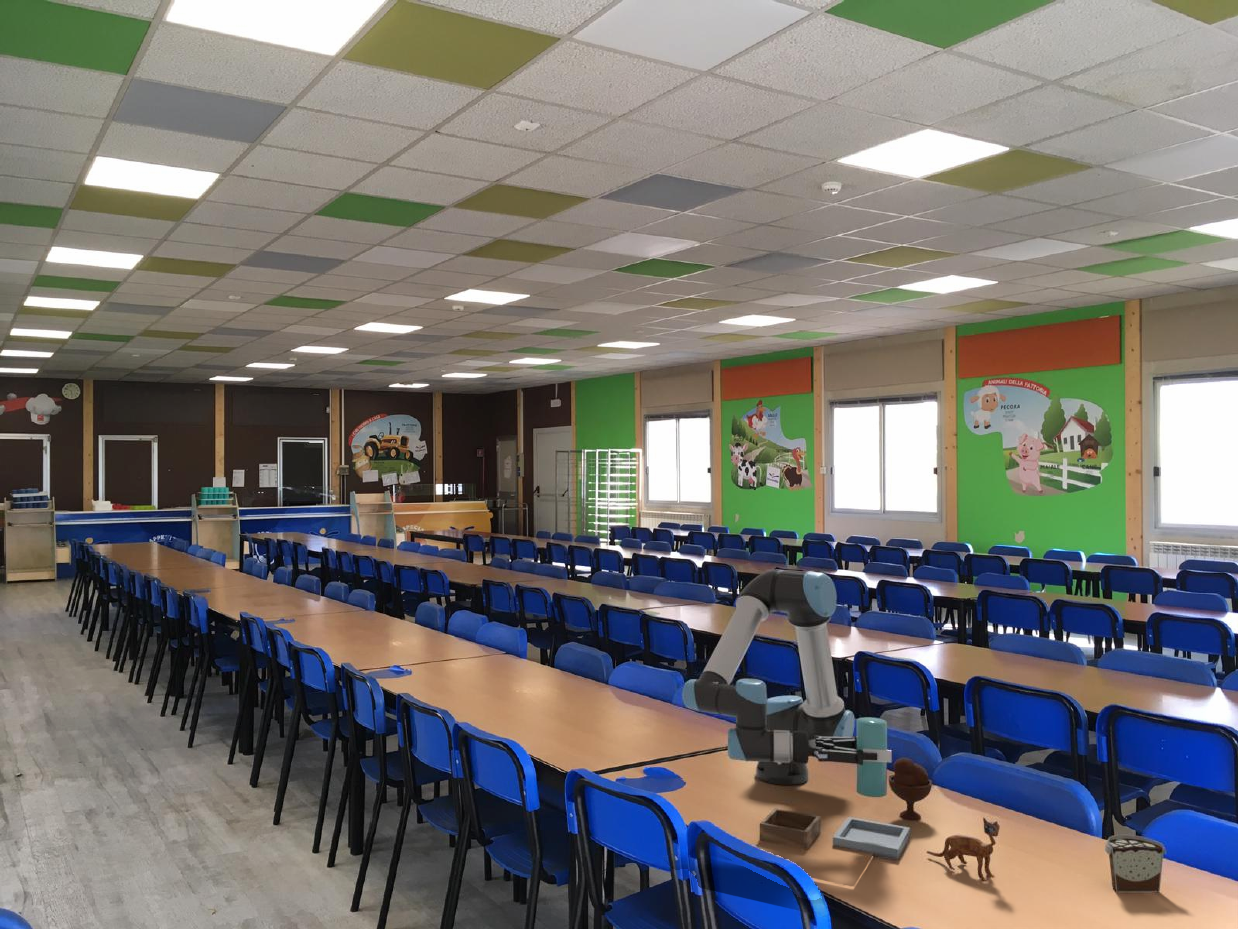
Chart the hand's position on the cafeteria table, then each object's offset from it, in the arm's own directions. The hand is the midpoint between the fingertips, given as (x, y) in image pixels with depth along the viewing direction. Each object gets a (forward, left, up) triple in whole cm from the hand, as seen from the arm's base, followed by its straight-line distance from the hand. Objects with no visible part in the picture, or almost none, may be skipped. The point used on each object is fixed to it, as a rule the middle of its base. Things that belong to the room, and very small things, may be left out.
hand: (888, 751), depth 218 cm
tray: (+1, -4, -22) cm, 22 cm away
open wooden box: (+8, -22, -22) cm, 32 cm away
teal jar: (+1, -4, -10) cm, 11 cm away
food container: (-2, +50, -22) cm, 55 cm away
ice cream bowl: (-21, +1, -22) cm, 30 cm away
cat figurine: (+7, +17, -22) cm, 29 cm away
